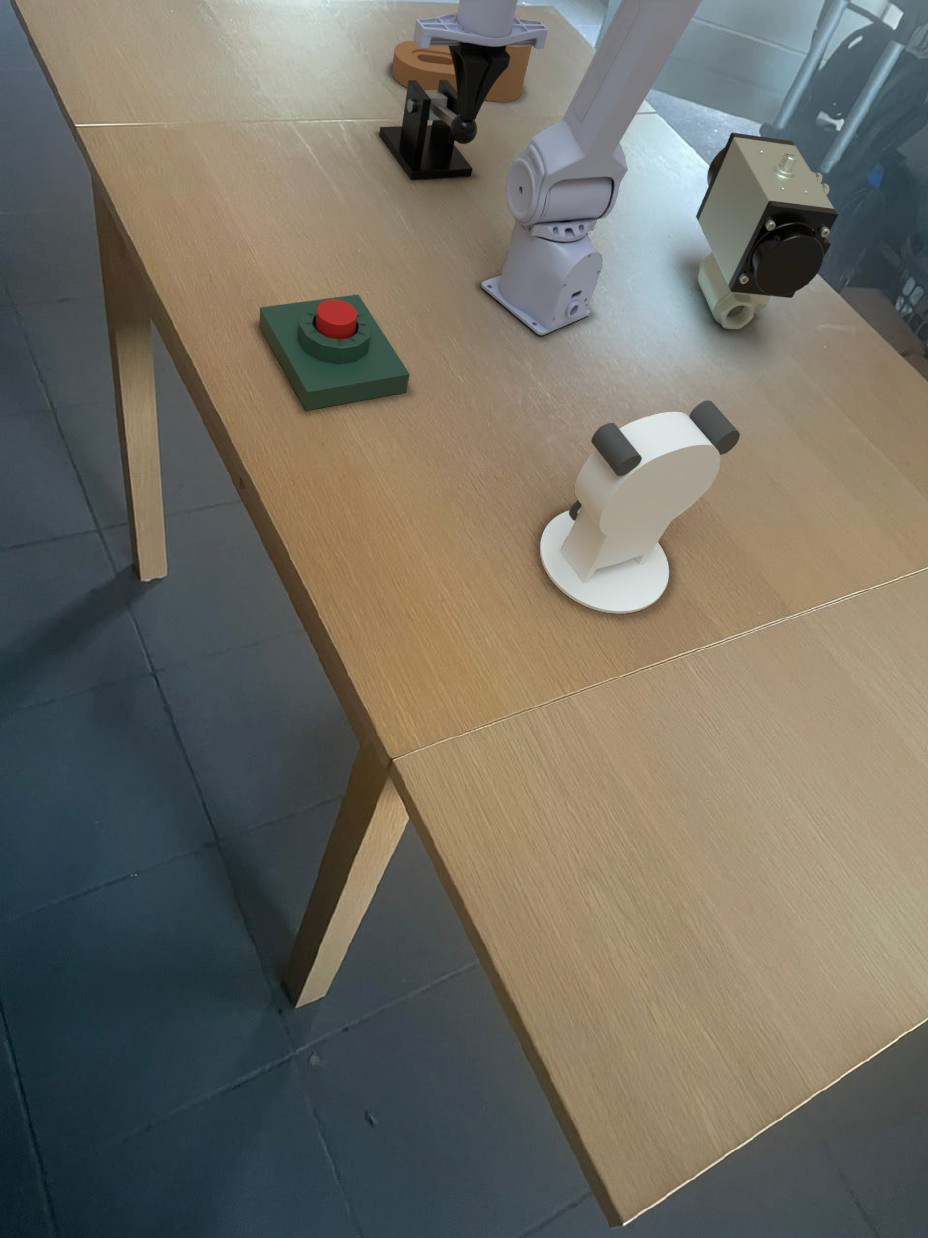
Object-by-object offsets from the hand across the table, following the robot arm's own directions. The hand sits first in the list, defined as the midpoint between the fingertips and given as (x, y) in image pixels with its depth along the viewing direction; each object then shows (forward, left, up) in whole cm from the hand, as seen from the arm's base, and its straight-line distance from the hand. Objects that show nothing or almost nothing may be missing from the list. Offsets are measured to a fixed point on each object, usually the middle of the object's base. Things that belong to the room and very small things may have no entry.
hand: (466, 115), depth 101 cm
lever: (+3, -1, -4) cm, 5 cm away
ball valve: (-32, -14, -9) cm, 36 cm away
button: (-18, +31, -5) cm, 36 cm away
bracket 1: (+20, -19, -9) cm, 30 cm away
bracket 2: (+7, -2, -9) cm, 12 cm away
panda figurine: (-50, +26, -9) cm, 57 cm away
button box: (-18, +31, -9) cm, 36 cm away
